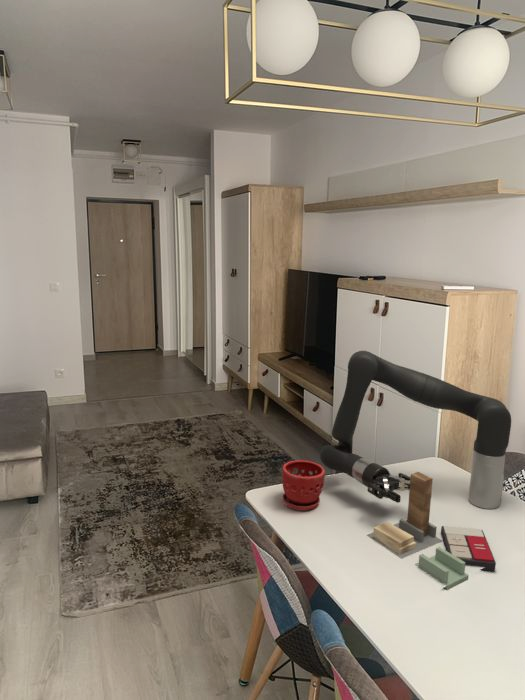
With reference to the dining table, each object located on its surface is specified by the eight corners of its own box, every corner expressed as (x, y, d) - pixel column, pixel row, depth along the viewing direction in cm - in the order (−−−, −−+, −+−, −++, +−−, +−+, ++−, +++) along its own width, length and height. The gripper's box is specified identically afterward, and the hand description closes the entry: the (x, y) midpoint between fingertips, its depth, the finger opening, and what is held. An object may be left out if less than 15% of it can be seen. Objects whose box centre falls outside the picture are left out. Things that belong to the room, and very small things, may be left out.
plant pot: (302, 518, 160) (303, 481, 158) (272, 502, 170) (273, 466, 167) (332, 504, 169) (333, 469, 166) (302, 489, 178) (303, 455, 176)
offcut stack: (388, 530, 152) (389, 520, 151) (415, 547, 144) (416, 537, 143) (372, 536, 149) (372, 526, 148) (399, 554, 140) (399, 544, 140)
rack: (406, 523, 158) (407, 510, 157) (442, 544, 147) (444, 530, 147) (365, 539, 150) (366, 525, 149) (401, 562, 139) (402, 548, 138)
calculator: (450, 556, 137) (441, 523, 151) (449, 571, 138) (440, 536, 152) (496, 560, 135) (482, 526, 149) (494, 575, 136) (481, 540, 150)
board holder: (435, 559, 141) (436, 544, 140) (468, 579, 133) (469, 564, 132) (414, 568, 137) (415, 553, 136) (446, 590, 128) (448, 574, 128)
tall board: (413, 527, 154) (418, 471, 150) (427, 535, 150) (432, 478, 146) (406, 530, 152) (410, 474, 149) (420, 538, 148) (425, 481, 145)
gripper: (353, 467, 161) (393, 489, 147) (387, 458, 168) (429, 477, 155) (352, 491, 162) (391, 514, 149) (386, 480, 170) (427, 501, 156)
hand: (410, 495), depth 152 cm, fingers open, 8 cm apart
